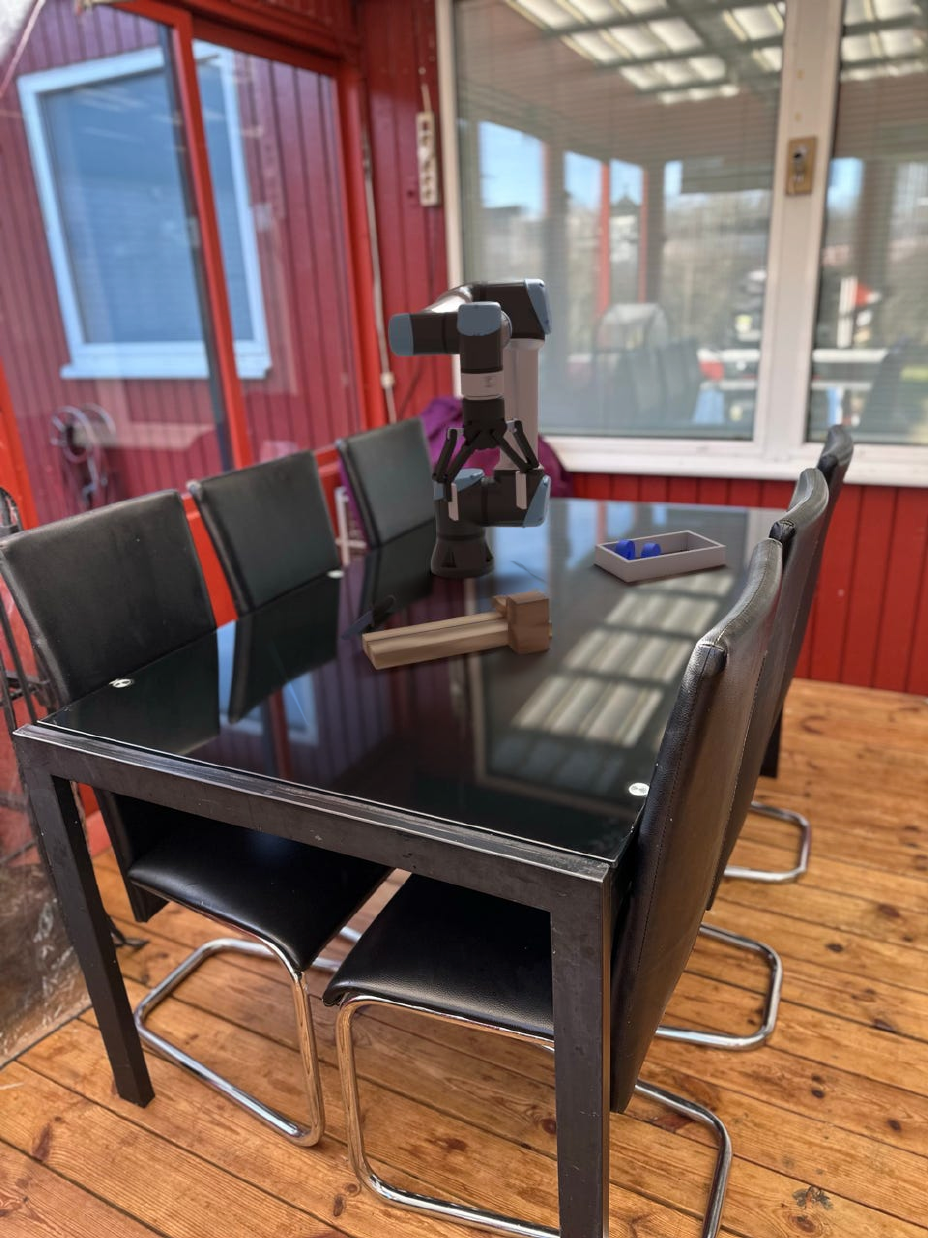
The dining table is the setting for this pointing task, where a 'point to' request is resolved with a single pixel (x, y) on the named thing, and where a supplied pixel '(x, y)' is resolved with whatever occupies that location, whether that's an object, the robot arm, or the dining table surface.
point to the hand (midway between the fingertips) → (488, 512)
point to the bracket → (628, 550)
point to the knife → (369, 617)
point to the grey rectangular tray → (662, 556)
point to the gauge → (525, 620)
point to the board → (437, 639)
